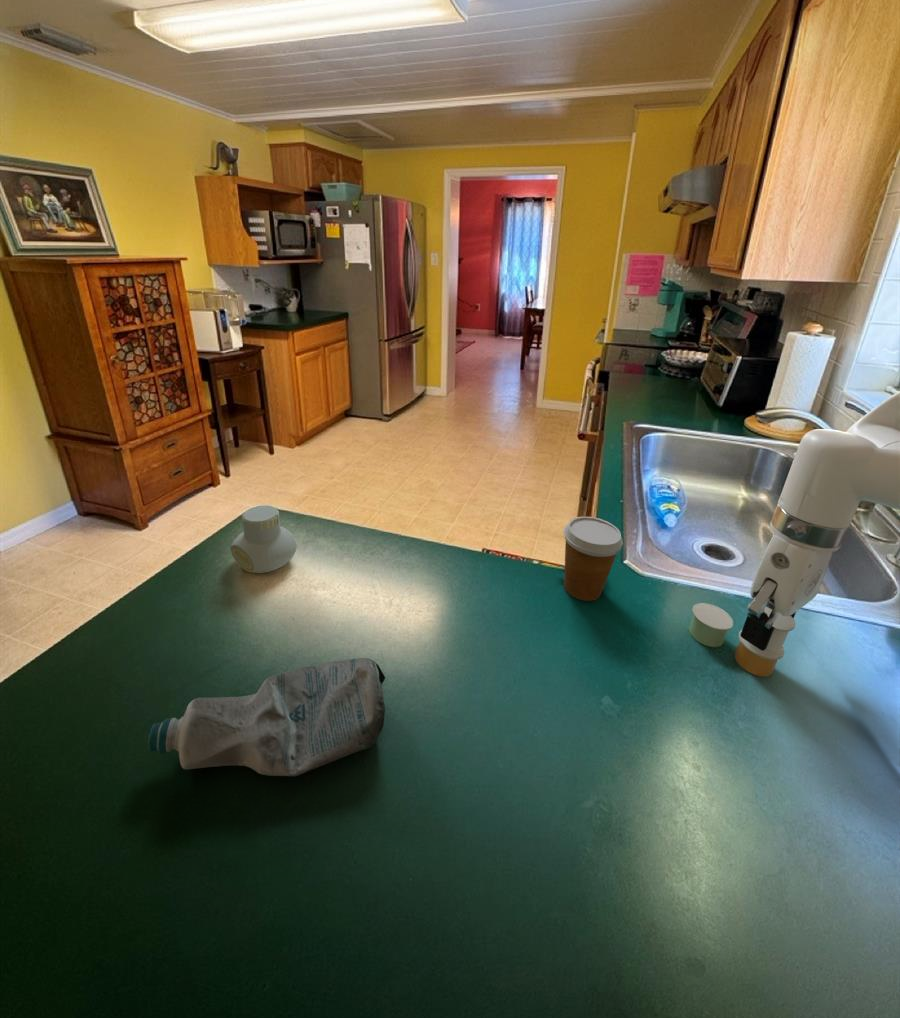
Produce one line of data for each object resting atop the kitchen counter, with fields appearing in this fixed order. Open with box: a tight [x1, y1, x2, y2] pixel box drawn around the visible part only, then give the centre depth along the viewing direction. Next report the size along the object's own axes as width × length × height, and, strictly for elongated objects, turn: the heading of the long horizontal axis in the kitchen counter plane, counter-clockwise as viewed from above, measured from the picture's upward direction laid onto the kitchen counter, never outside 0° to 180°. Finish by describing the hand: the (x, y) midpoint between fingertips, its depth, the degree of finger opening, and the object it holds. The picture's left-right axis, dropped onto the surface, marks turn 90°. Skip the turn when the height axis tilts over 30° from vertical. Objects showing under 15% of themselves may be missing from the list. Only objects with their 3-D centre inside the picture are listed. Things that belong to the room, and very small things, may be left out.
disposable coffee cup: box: [563, 516, 624, 602], centre depth 80 cm, size 10×10×12 cm
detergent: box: [147, 657, 386, 777], centre depth 53 cm, size 13×7×25 cm
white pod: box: [747, 601, 796, 649], centre depth 66 cm, size 6×6×4 cm
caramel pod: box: [734, 629, 785, 678], centre depth 68 cm, size 6×6×4 cm
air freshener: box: [230, 504, 298, 574], centre depth 82 cm, size 11×8×10 cm
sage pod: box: [688, 602, 734, 648], centre depth 73 cm, size 6×6×4 cm
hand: (764, 633), depth 67 cm, fingers closed on white pod, 5 cm apart
